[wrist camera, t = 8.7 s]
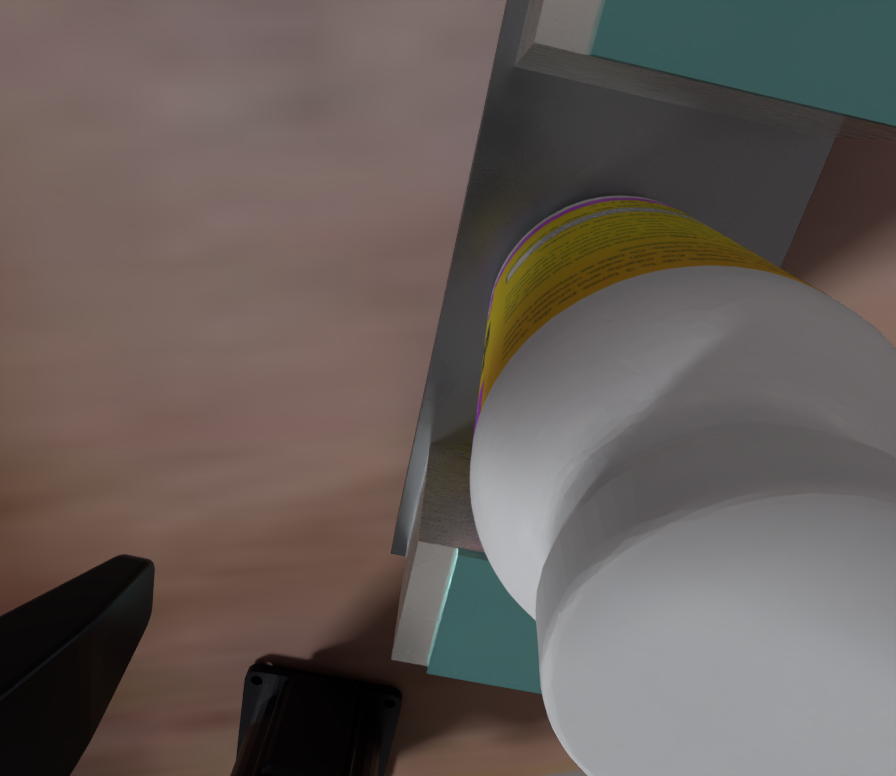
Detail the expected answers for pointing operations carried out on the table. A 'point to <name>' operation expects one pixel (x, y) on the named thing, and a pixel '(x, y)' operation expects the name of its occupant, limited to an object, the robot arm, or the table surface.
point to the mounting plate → (615, 174)
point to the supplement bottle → (691, 499)
